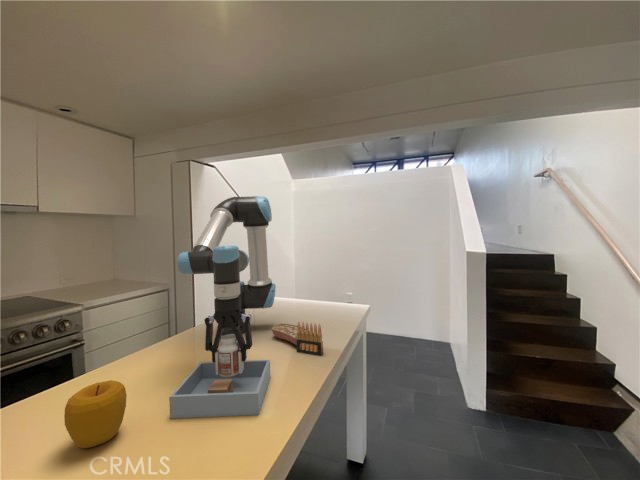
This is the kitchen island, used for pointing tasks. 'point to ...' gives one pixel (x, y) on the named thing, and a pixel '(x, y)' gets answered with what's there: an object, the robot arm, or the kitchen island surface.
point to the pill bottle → (228, 356)
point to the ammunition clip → (309, 340)
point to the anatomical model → (286, 332)
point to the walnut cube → (221, 386)
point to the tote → (243, 400)
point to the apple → (95, 413)
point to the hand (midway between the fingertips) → (229, 371)
